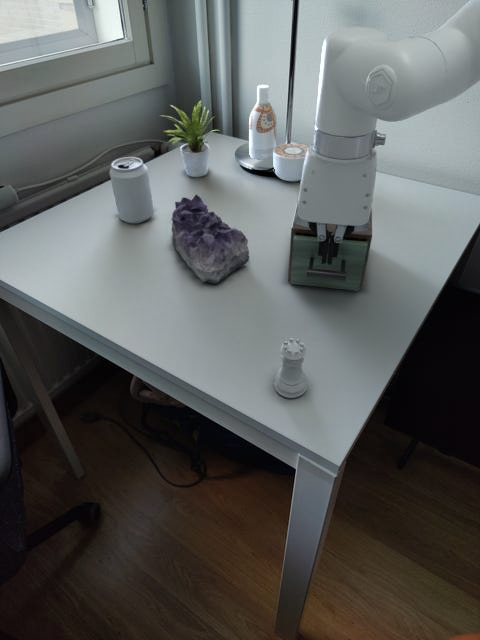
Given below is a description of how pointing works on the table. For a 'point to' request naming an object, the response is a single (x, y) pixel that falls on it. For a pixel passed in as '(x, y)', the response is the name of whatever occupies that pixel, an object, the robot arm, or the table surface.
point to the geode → (207, 241)
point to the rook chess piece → (291, 370)
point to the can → (131, 189)
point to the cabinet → (298, 229)
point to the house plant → (193, 142)
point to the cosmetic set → (273, 140)
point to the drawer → (338, 274)
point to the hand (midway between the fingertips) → (326, 259)
